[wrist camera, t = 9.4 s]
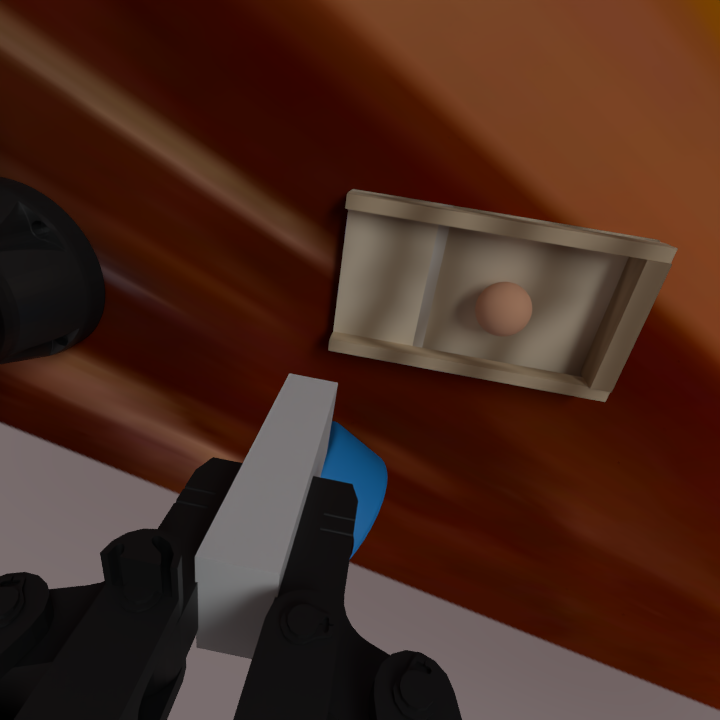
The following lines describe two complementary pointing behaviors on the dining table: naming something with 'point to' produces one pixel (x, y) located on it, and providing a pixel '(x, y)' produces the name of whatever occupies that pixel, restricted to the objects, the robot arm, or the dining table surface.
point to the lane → (478, 271)
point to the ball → (503, 309)
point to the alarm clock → (356, 477)
